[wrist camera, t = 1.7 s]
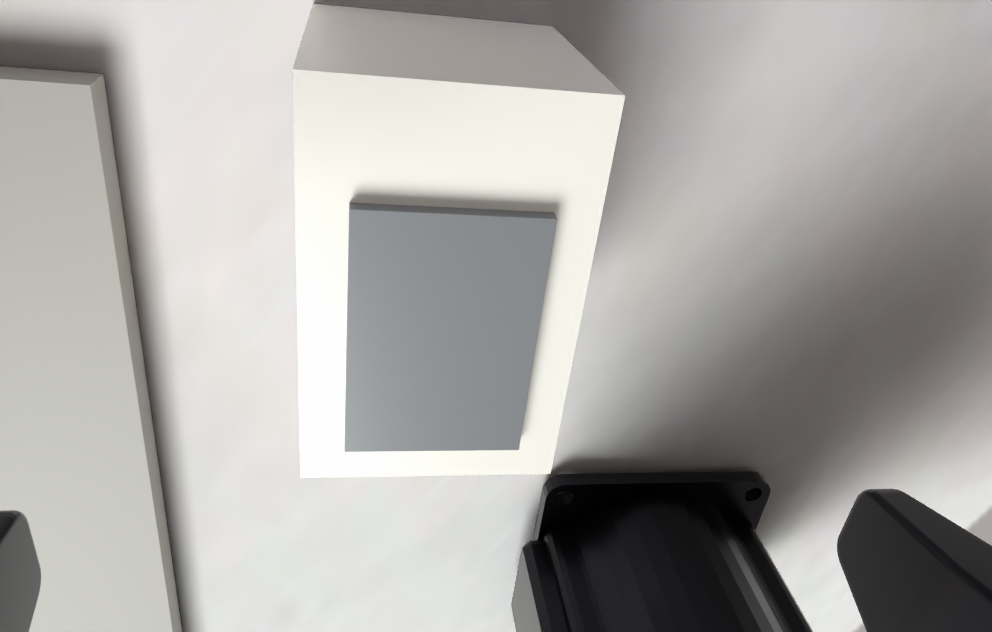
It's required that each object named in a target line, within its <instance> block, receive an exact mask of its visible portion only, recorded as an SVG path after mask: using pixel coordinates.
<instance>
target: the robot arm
mask: <svg viewBox="0 0 992 632" xmlns="http://www.w3.org/2000/svg"><path fill="white" fill-rule="evenodd" d="M750 489H751V490H750ZM748 490H749V491H748ZM565 491H566V493H565V494H562V495H557V494H559V493H560V492H565ZM769 494H770V488H769V485H768V484H767V482H766V480H765V479H764V477H763V476H762V475H761V474H760V473H758V472H753V471H745V472H680V473H615V474H562V475H556V476H554V477H552V478H550V479H549V480H548V481H547V482H546V483H545V484H544V487H543V490H542V495H541V500H540V505H539V510H538V515H537V521H536V526H535V531H534V536H533V540H528V542H527V543H526V544H525V545H524V546H523V547H522V550H521V555H520V560H519V566H518V571H517V577H516V582H515V588H514V593H513V598H512V611H513V617H514V622H515V627H516V632H813V631H812V629H811V627H810V626H809V624H808V622H807V620H806V619H805V617H804V615H803V613H802V612H801V610H800V608H799V606H798V605H797V603H796V601H795V599H794V598H793V596H792V594H791V592H790V591H789V589H788V587H787V585H786V584H785V582H784V580H783V578H782V577H781V575H780V573H779V571H778V570H777V568H776V566H775V564H774V563H773V561H772V559H771V557H770V556H769V554H768V552H767V550H766V549H765V547H764V545H763V543H762V542H761V540H760V538H759V536H758V535H757V533H756V531H755V530H756V527H757V525H758V522H759V519H760V517H761V514H762V512H763V509H764V507H765V504H766V502H767V499H768V497H769ZM837 552H838V557H839V561H840V563H841V566H842V569H843V571H844V574H845V576H846V579H847V581H848V584H849V587H850V589H851V592H852V594H853V597H854V600H855V602H856V605H857V607H858V610H859V612H860V615H861V618H862V620H863V623H864V625H865V628H866V630H867V632H992V546H991V545H989V544H988V543H986V542H985V541H983V540H981V539H980V538H978V537H976V536H974V535H973V534H971V533H970V532H968V531H966V530H965V529H963V528H962V527H960V526H958V525H957V524H955V523H953V522H952V521H950V520H948V519H947V518H945V517H944V516H942V515H940V514H939V513H937V512H935V511H934V510H932V509H930V508H929V507H927V506H926V505H924V504H922V503H921V502H919V501H917V500H916V499H914V498H912V497H911V496H909V495H907V494H906V493H904V492H902V491H900V490H896V489H869V490H865V491H863V492H862V493H861V494H859V495H858V497H857V499H856V501H855V503H854V505H853V507H852V509H851V511H850V513H849V516H848V518H847V520H846V522H845V524H844V526H843V528H842V531H841V533H840V535H839V538H838V542H837ZM40 587H41V568H40V563H39V560H38V556H37V552H36V549H35V545H34V541H33V538H32V534H31V530H30V527H29V523H28V521H27V518H26V516H25V515H24V514H23V513H22V512H20V511H16V510H5V511H0V632H29V630H30V626H31V622H32V619H33V615H34V611H35V608H36V604H37V600H38V596H39V592H40Z"/></svg>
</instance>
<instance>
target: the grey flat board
mask: <svg viewBox="0 0 992 632" xmlns="http://www.w3.org/2000/svg"><path fill="white" fill-rule="evenodd" d="M5 510H16V511H20V512H22V513H23V514H24V515H25V516H26V518H27V521H28V523H29V527H30V530H31V534H32V538H33V541H34V545H35V549H36V552H37V556H38V560H39V563H40V568H41V587H40V592H39V596H38V600H37V604H36V608H35V611H34V615H33V619H32V622H31V626H30V630H29V632H182V627H181V620H180V613H179V606H178V598H177V591H176V584H175V577H174V570H173V563H172V556H171V549H170V542H169V535H168V528H167V521H166V514H165V506H164V499H163V492H162V485H161V478H160V471H159V464H158V457H157V450H156V443H155V436H154V429H153V422H152V414H151V407H150V400H149V393H148V386H147V379H146V372H145V365H144V358H143V351H142V344H141V337H140V330H139V322H138V315H137V308H136V301H135V294H134V287H133V280H132V273H131V266H130V259H129V252H128V245H127V238H126V230H125V223H124V216H123V209H122V202H121V195H120V188H119V181H118V174H117V167H116V160H115V153H114V146H113V138H112V131H111V124H110V117H109V110H108V103H107V96H106V89H105V82H104V75H103V74H98V73H85V72H71V71H58V70H45V69H31V68H18V67H4V66H0V511H5Z"/></svg>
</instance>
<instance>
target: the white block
mask: <svg viewBox="0 0 992 632" xmlns="http://www.w3.org/2000/svg"><path fill="white" fill-rule="evenodd" d="M292 71H293V123H294V175H295V227H296V279H297V332H298V384H299V436H300V478H326V477H389V476H453V475H516V474H551V469H552V464H553V459H554V454H555V449H556V444H557V439H558V434H559V429H560V424H561V419H562V414H563V408H564V403H565V398H566V393H567V388H568V383H569V378H570V373H571V368H572V363H573V358H574V353H575V348H576V343H577V338H578V333H579V328H580V323H581V318H582V313H583V308H584V302H585V297H586V292H587V287H588V282H589V277H590V272H591V267H592V262H593V257H594V252H595V247H596V242H597V237H598V232H599V227H600V222H601V217H602V212H603V207H604V202H605V196H606V191H607V186H608V181H609V176H610V171H611V166H612V161H613V156H614V151H615V146H616V141H617V136H618V131H619V126H620V121H621V116H622V111H623V106H624V101H625V95H624V94H623V93H622V92H621V91H620V90H619V89H618V88H617V87H616V86H615V85H614V84H613V83H612V82H611V81H610V80H609V79H608V78H606V77H605V76H604V75H603V74H602V73H601V72H600V71H599V70H598V69H597V68H596V67H595V66H594V65H593V64H592V63H591V62H590V61H589V60H588V59H586V58H585V57H584V56H583V55H582V54H581V53H580V52H579V51H578V50H577V49H576V48H575V47H574V46H573V45H572V44H571V43H570V42H569V41H568V40H566V39H565V38H564V37H563V36H562V35H561V34H560V33H559V32H558V31H557V30H556V29H555V28H554V27H553V26H545V25H535V24H524V23H513V22H503V21H492V20H482V19H471V18H461V17H450V16H439V15H429V14H418V13H408V12H397V11H387V10H376V9H365V8H355V7H344V6H334V5H323V4H313V6H312V9H311V12H310V15H309V18H308V22H307V25H306V28H305V31H304V34H303V37H302V41H301V44H300V47H299V50H298V53H297V57H296V60H295V63H294V66H293V69H292Z"/></svg>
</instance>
